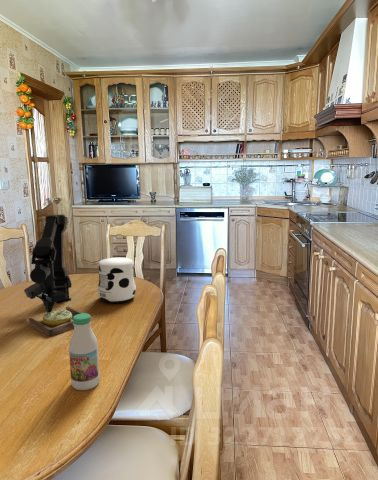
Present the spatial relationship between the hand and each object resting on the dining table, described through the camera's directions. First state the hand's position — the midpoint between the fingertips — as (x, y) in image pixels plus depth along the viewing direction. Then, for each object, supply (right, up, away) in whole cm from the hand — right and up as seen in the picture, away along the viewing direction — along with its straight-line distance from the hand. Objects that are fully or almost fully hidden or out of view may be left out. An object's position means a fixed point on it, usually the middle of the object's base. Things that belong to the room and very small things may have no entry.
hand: (49, 312), depth 147 cm
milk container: (+23, +2, +22) cm, 32 cm away
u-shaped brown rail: (+6, -3, -4) cm, 8 cm away
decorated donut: (+5, -3, -3) cm, 6 cm away
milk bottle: (+28, -11, -45) cm, 54 cm away
